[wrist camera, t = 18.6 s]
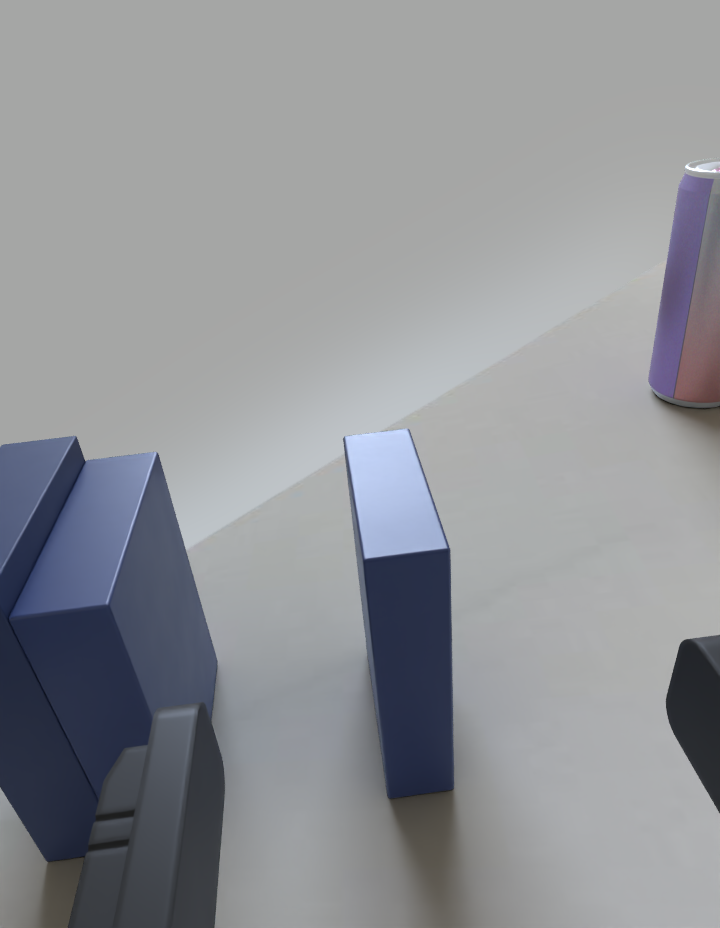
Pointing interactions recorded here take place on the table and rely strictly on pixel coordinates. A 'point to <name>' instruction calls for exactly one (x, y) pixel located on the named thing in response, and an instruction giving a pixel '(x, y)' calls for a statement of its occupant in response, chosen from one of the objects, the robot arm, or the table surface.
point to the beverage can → (691, 295)
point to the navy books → (88, 628)
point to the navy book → (404, 609)
